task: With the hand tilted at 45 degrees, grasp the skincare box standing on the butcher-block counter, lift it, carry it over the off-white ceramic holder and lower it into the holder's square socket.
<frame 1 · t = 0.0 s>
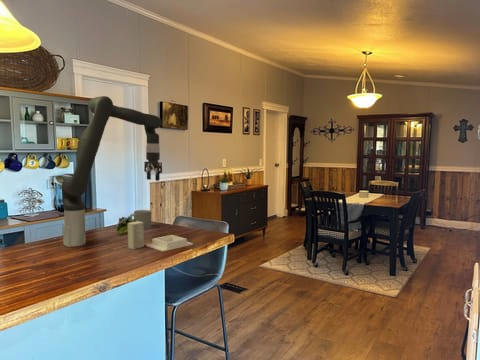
hand: (153, 180, 212), 29 cm above the worktop, tool pointing down, fingers open, 8 cm apart
holder: (169, 245, 182), on the worktop
skincare box: (135, 247, 178), on the worktop
coffee mug: (140, 227, 222), on the worktop
passion flower: (126, 233, 206), on the worktop
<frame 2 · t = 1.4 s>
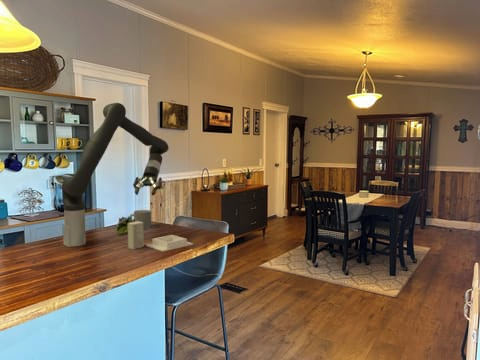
hand: (144, 194, 187), 24 cm above the worktop, tool tilted 45°, fingers open, 8 cm apart
nothing on the worktop moved.
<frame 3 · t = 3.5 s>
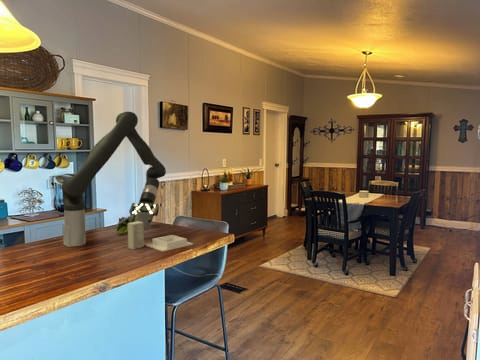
hand: (140, 221, 183), 11 cm above the worktop, tool tilted 45°, fingers open, 8 cm apart
nothing on the worktop moved.
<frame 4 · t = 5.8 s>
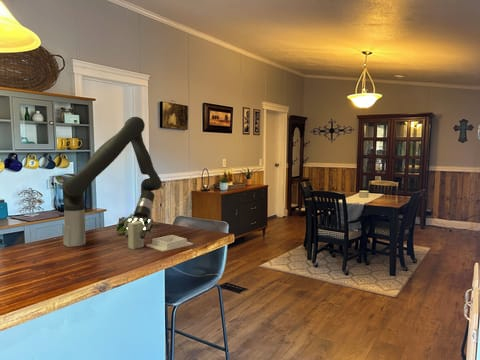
hand: (134, 237, 176), 5 cm above the worktop, tool tilted 45°, fingers closed on skincare box, 6 cm apart
skincare box: (135, 247, 178), on the worktop, touching gripper
everything else where it was.
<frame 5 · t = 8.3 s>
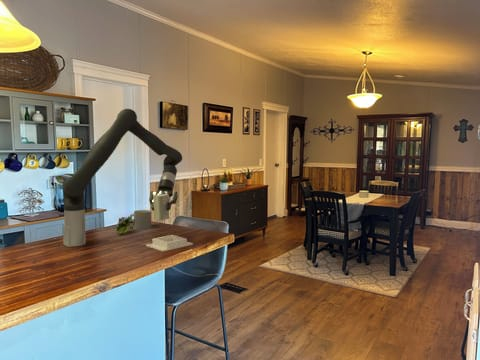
hand: (160, 209, 179), 18 cm above the worktop, tool tilted 45°, fingers closed on skincare box, 6 cm apart
skincare box: (161, 219, 181), point 13 cm above the worktop, touching gripper
everything else where it was.
when the fingers open (7 cm above the worktop, at t = 11.2 s): skincare box drops 2 cm, resting on holder.
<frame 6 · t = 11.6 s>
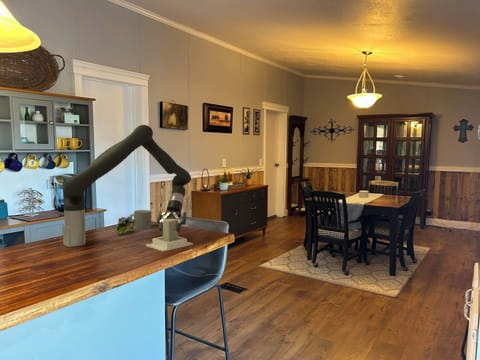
hand: (168, 230, 181), 8 cm above the worktop, tool tilted 45°, fingers open, 8 cm apart
skincare box: (170, 244, 183), resting on holder
everything else where it was.
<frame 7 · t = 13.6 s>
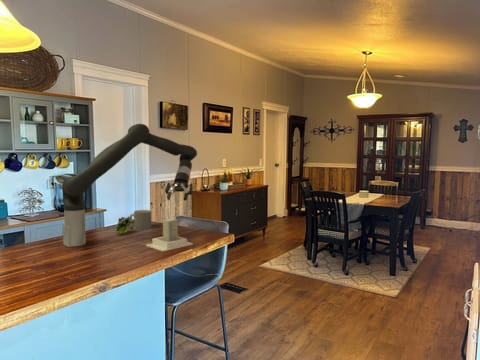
hand: (176, 199, 192), 21 cm above the worktop, tool tilted 45°, fingers open, 8 cm apart
nothing on the worktop moved.
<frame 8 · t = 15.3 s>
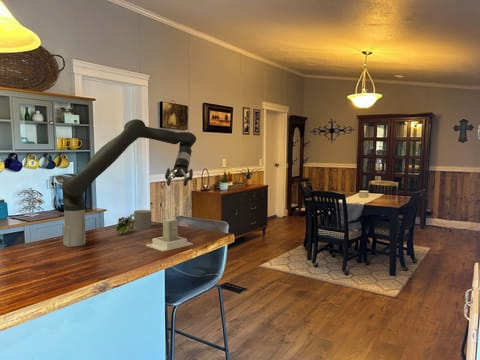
hand: (176, 185, 192), 29 cm above the worktop, tool tilted 45°, fingers open, 8 cm apart
nothing on the worktop moved.
at the end: skincare box inside the target area on the holder (0.3 cm from its centre), point 0.4 cm above the holder's base; skincare box tilted 0°; the gripper is holding nothing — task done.
